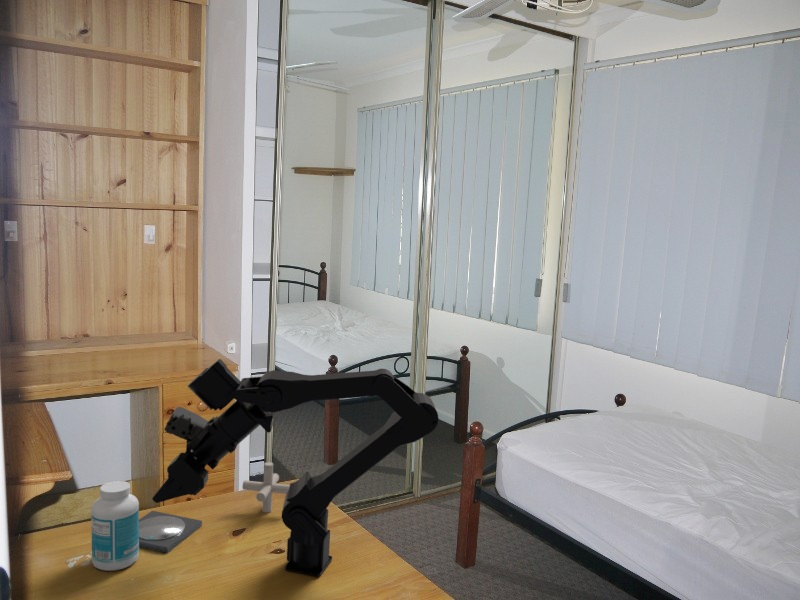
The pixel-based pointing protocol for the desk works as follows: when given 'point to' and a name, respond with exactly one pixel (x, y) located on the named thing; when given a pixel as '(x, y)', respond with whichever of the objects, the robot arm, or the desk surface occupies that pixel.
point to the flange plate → (165, 530)
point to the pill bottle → (115, 527)
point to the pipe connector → (266, 487)
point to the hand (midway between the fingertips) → (162, 488)
